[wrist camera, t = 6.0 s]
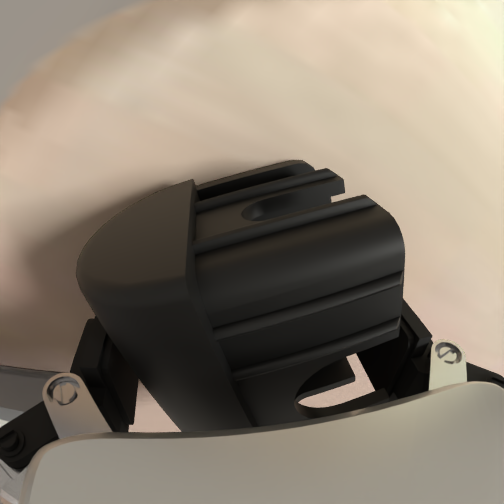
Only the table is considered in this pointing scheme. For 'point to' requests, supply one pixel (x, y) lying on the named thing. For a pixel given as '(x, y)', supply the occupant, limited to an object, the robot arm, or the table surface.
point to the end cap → (247, 294)
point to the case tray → (20, 390)
